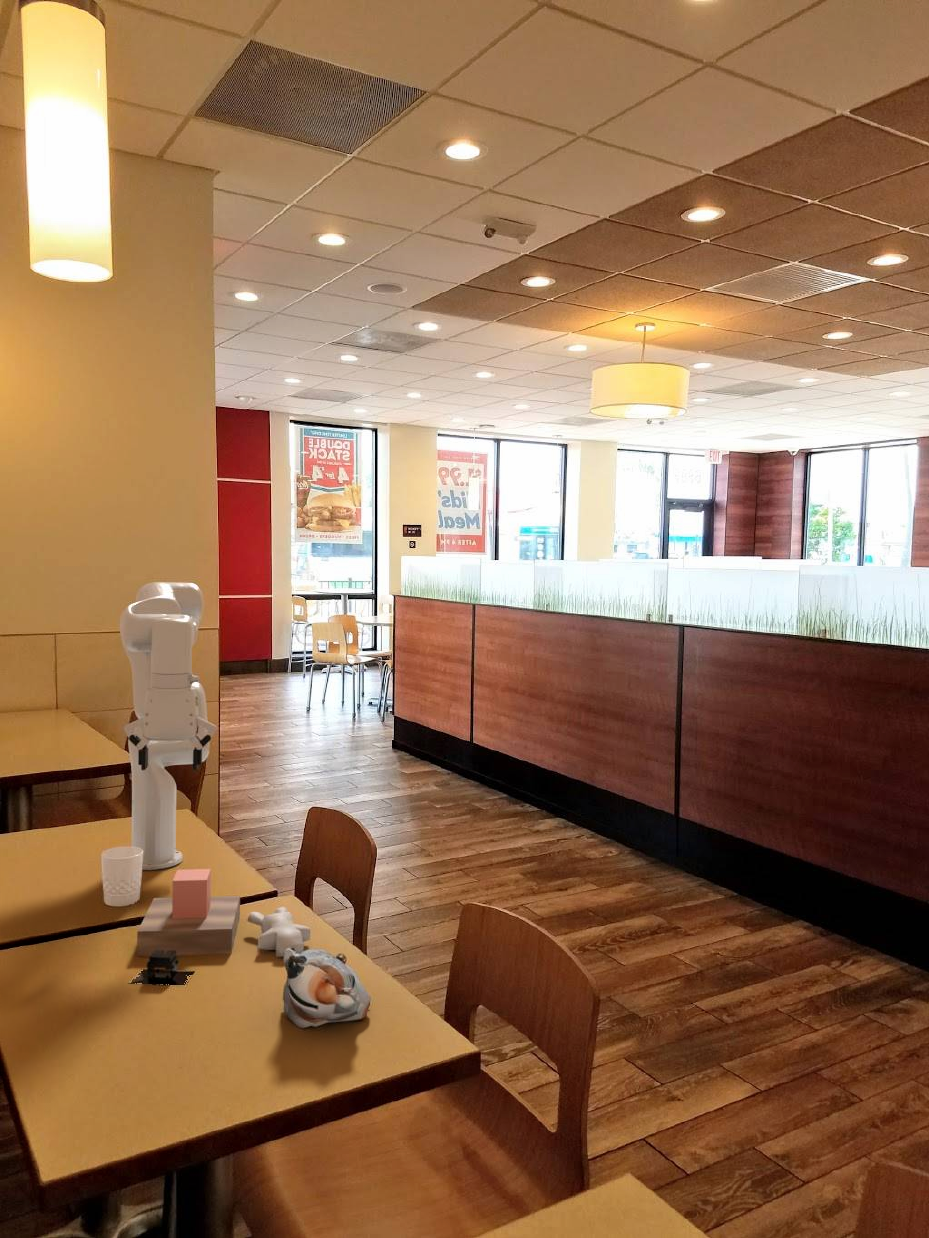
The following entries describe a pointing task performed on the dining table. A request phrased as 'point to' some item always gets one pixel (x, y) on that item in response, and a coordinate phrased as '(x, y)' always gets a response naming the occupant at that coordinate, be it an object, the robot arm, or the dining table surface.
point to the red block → (191, 893)
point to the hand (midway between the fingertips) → (170, 768)
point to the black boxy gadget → (160, 975)
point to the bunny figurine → (280, 931)
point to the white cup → (122, 875)
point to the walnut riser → (189, 929)
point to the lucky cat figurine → (321, 989)
